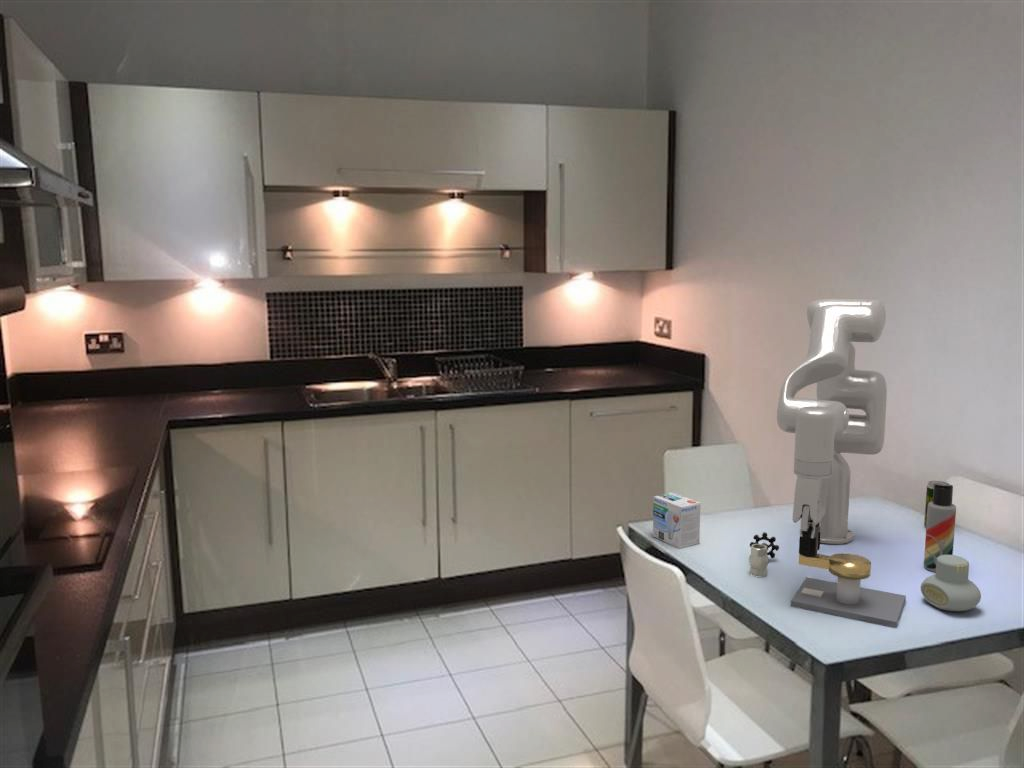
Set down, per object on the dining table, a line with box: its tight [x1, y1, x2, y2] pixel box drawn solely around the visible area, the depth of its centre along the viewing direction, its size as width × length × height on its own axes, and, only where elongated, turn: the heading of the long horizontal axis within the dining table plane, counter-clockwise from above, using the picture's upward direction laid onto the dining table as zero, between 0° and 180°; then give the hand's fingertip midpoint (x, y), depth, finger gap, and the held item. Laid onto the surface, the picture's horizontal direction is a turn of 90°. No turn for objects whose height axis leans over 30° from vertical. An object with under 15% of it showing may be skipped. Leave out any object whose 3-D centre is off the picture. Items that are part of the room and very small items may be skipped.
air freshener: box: [920, 554, 982, 612], centre depth 174 cm, size 11×8×10 cm
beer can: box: [923, 480, 951, 529], centre depth 218 cm, size 5×5×12 cm
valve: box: [748, 532, 780, 577], centre depth 195 cm, size 7×7×12 cm
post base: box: [790, 576, 907, 629], centre depth 176 cm, size 14×20×7 cm
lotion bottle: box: [923, 484, 957, 573], centre depth 192 cm, size 6×6×20 cm
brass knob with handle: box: [798, 526, 872, 581], centre depth 175 cm, size 8×14×8 cm, turn 59°
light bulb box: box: [652, 491, 701, 550], centre depth 213 cm, size 11×7×11 cm, turn 31°
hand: (809, 551), depth 178 cm, fingers closed on brass knob with handle, 3 cm apart
